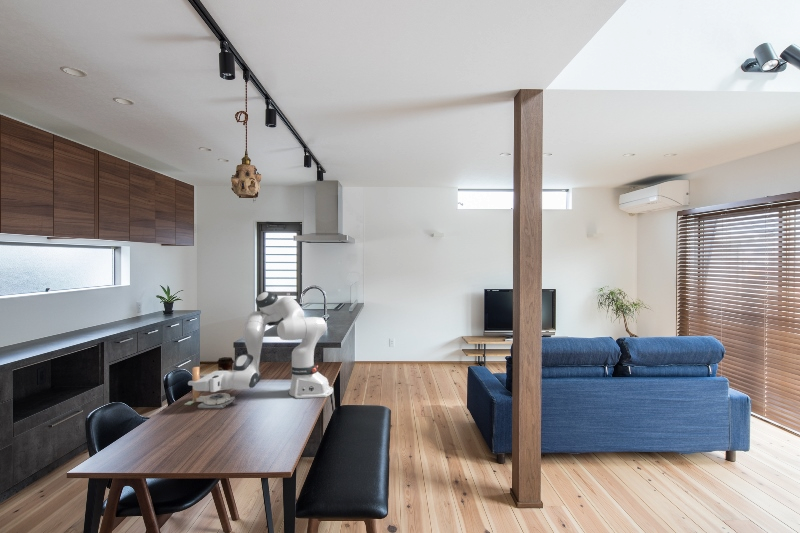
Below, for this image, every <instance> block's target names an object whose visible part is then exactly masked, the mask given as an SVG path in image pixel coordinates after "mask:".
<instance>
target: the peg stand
mask: <svg viewBox="0 0 800 533" xmlns="http://www.w3.org/2000/svg"><path fill="white" fill-rule="evenodd" d="M191 370H192V377H191V378H192V381H197V380H199V379H200V377H199V376H200V366H193V367H192V369H191ZM200 393H201V391H195V390H193V389H192V401H193V402H194V403H196V402H198V403H199V402H201V403H203V402H204V403H205V404H207V405H215V404H221V403H225V402H227V401H228V400H229V399H230V397H231V394H229V393H228V392H218V393H216V392H215V393H212V394H209V395H200ZM214 394H222V398H218V399H212V395H214Z"/></svg>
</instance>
